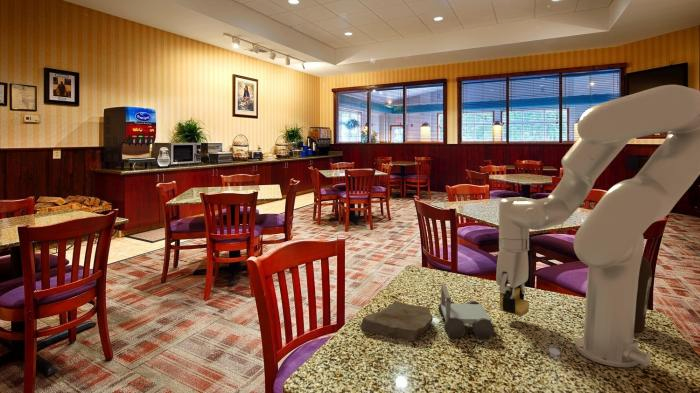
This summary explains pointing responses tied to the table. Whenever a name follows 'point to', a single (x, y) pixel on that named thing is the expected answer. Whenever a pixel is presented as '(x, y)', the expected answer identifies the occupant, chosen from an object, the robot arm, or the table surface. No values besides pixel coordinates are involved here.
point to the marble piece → (398, 321)
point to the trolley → (464, 317)
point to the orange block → (517, 303)
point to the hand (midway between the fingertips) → (513, 308)
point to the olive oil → (642, 295)
